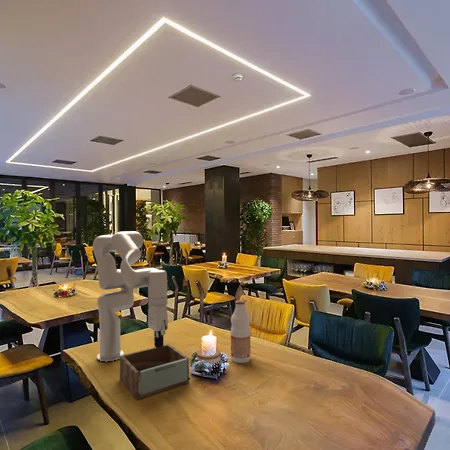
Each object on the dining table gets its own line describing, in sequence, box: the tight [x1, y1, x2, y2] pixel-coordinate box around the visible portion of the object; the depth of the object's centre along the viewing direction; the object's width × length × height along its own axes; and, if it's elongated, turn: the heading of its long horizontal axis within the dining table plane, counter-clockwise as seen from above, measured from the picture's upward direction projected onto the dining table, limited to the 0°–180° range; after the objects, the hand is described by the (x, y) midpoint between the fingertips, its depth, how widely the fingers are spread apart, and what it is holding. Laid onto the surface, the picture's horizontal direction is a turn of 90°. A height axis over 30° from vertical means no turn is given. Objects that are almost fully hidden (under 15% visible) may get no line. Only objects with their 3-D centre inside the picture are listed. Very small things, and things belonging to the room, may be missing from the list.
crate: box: [119, 343, 191, 400], centre depth 133 cm, size 21×22×10 cm
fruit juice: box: [230, 299, 252, 364], centre depth 154 cm, size 9×9×28 cm
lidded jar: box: [196, 348, 222, 364], centre depth 144 cm, size 11×11×9 cm
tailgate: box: [140, 358, 187, 395], centre depth 125 cm, size 2×19×8 cm, turn 125°
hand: (159, 346), depth 130 cm, fingers closed
